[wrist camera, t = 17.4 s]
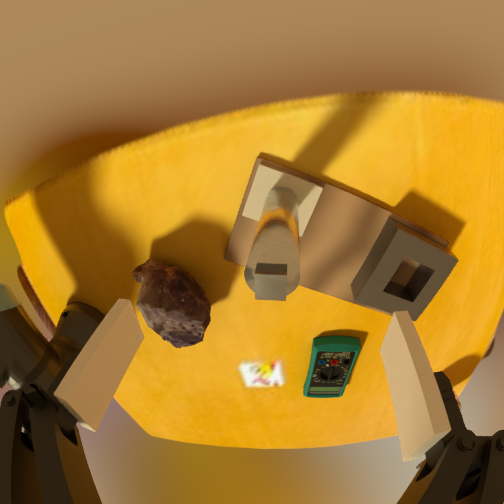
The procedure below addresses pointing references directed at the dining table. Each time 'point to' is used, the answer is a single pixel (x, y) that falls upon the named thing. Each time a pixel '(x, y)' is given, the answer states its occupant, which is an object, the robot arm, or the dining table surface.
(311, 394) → the digital multimeter
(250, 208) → the pad
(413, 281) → the block
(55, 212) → the dining table surface
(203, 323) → the rock
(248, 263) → the silver metal post
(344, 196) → the board
